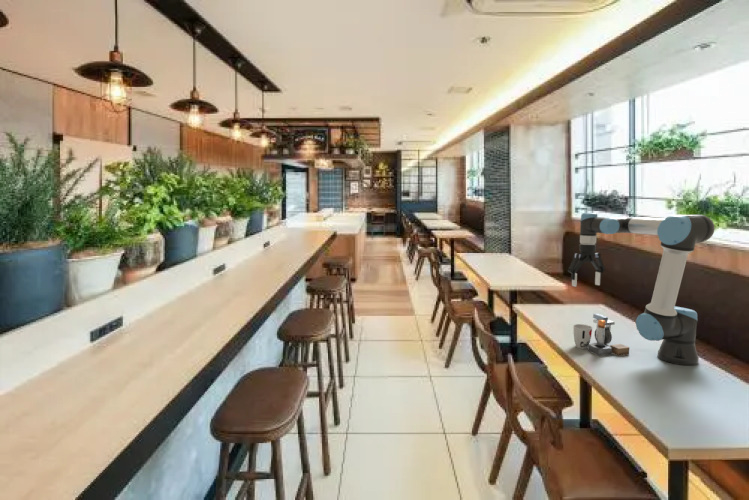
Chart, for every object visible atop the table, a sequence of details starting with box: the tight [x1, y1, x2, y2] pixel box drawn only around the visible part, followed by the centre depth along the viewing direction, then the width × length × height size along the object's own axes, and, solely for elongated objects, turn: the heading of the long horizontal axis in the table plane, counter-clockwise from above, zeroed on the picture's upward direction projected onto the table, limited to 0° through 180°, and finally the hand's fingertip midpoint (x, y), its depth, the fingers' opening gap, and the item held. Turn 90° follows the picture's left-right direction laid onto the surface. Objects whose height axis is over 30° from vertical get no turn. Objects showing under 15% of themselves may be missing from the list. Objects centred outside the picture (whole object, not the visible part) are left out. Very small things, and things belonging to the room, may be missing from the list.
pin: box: [596, 320, 606, 348], centre depth 215 cm, size 3×3×15 cm
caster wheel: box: [592, 313, 616, 345], centre depth 228 cm, size 10×7×13 cm
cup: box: [573, 323, 593, 350], centre depth 223 cm, size 8×8×10 cm
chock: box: [609, 343, 630, 356], centre depth 215 cm, size 5×6×4 cm
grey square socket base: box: [587, 343, 613, 357], centre depth 216 cm, size 7×7×3 cm
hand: (585, 285), depth 239 cm, fingers open, 13 cm apart
